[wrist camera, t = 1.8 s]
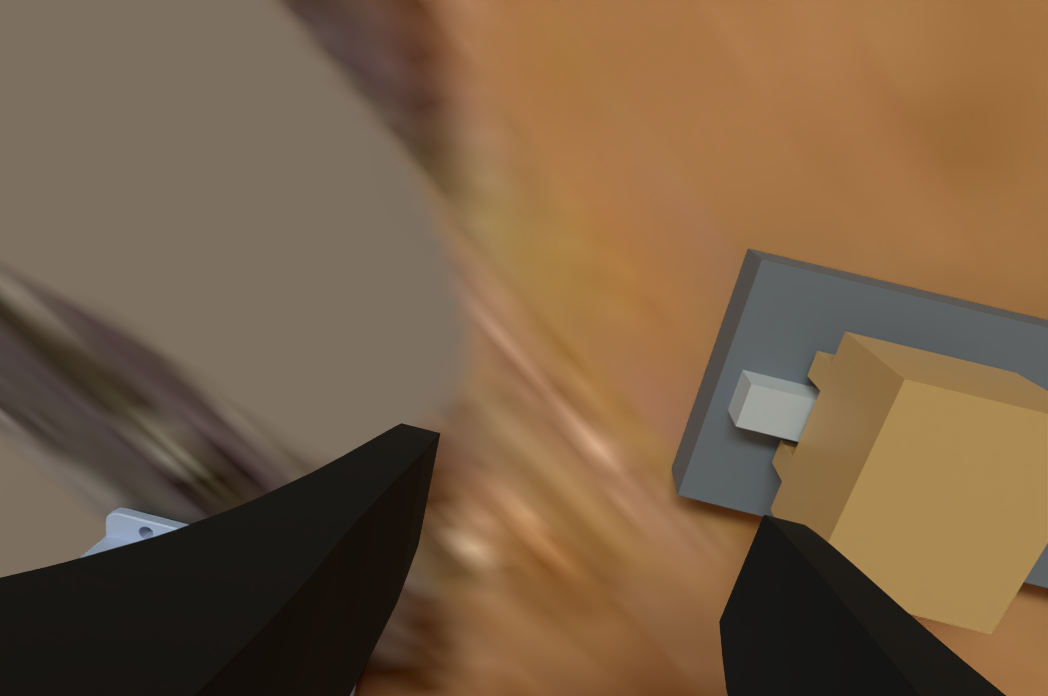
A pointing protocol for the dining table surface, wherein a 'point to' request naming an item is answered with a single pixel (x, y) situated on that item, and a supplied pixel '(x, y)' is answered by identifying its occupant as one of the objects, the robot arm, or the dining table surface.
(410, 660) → the dining table surface
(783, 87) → the dining table surface
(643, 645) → the dining table surface
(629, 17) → the dining table surface
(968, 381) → the sliding carriage
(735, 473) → the track
